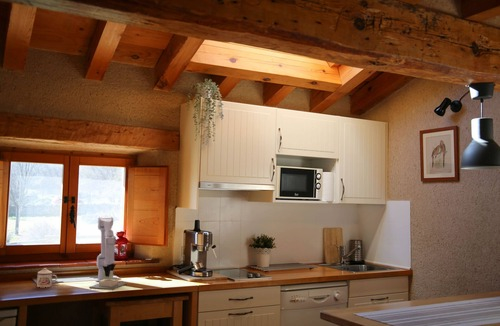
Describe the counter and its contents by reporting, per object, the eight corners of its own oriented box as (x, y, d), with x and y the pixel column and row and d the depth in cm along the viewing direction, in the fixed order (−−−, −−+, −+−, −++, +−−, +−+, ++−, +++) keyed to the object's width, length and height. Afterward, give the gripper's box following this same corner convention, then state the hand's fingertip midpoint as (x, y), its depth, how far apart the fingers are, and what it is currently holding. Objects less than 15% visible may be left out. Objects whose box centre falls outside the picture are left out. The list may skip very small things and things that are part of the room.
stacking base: (104, 282, 337) (104, 277, 338) (126, 284, 334) (126, 278, 334) (89, 288, 318) (89, 282, 318) (112, 289, 315) (112, 283, 315)
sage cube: (105, 277, 329) (105, 270, 329) (112, 278, 329) (113, 270, 329) (102, 279, 324) (103, 271, 324) (110, 279, 324) (110, 271, 324)
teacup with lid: (36, 288, 313) (37, 269, 314) (36, 285, 322) (37, 267, 322) (56, 287, 317) (57, 269, 318) (56, 284, 326) (57, 266, 327)
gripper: (107, 253, 335) (107, 273, 334) (99, 256, 320) (98, 277, 320) (118, 253, 334) (117, 274, 333) (110, 256, 320) (109, 277, 319)
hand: (108, 275), depth 326 cm, fingers closed on sage cube, 5 cm apart
